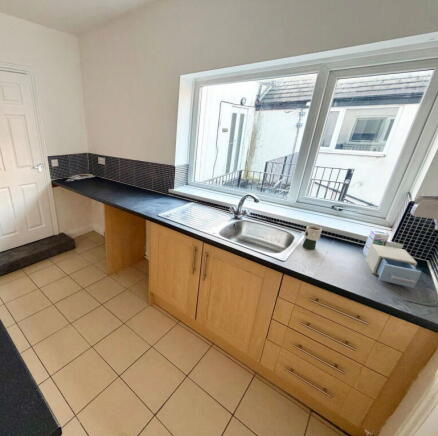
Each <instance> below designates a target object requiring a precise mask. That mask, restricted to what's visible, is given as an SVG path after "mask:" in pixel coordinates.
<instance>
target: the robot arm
mask: <svg viewBox="0 0 438 436" xmlns="http://www.w3.org/2000/svg"><path fill="white" fill-rule="evenodd" d="M410 215H412V216H413V217H415V218H422V219H430V220H431V219H432V220H433V222H434V225H435V226H434V230H435V231H438V195H432V194H431V195H430V194H429V195H428V194H422V195H419V196H417V197H415V200H414V204H413V206H412V208H411V210H410Z"/></svg>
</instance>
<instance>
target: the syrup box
mask: <svg viewBox="0 0 438 436" xmlns="http://www.w3.org/2000/svg"><path fill="white" fill-rule="evenodd" d="M389 238H390V234H389V233H388V232H386V231H385V230H377V229H370V230H369V233H368V236H367V239H366V241H365V244H364V246H363V249H362V253H363V255H364V256H365V258H366V257H367V254H368V252H369V249H370V246H371V244H376V245H382V246H387V245H386V244H387V242H388V240H389Z"/></svg>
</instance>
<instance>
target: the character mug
mask: <svg viewBox="0 0 438 436" xmlns="http://www.w3.org/2000/svg"><path fill="white" fill-rule="evenodd" d="M322 231H323V228H322V227H320V226H317V225H312V224H310V225H307V226H306V228H305V231H304V236H303V237H304V238H305V239H304V240H303V242H302V248H303V249H305V250H310V251H314V250H316V248H317V247H316V246H317V241H319V240H320V239H321V235H322Z"/></svg>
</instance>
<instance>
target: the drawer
mask: <svg viewBox="0 0 438 436" xmlns="http://www.w3.org/2000/svg"><path fill="white" fill-rule="evenodd" d="M376 271H377V273H378V275H377V276H378V278H377V279H378V281H382V282H386V283H390V284H395V285H398V286H399V285H400V286H402V287H408V288H412V289H414V288H415V287H416V285H417V283H418V281H419V278H420V277H421V274H422V271H421V270H417V268H416V267H414V266H413V265H412V264H411V263H406V262H401V261H396V260H391V259H386V258H381V259H380V262H379V264H378V267H377V269H376Z"/></svg>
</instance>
